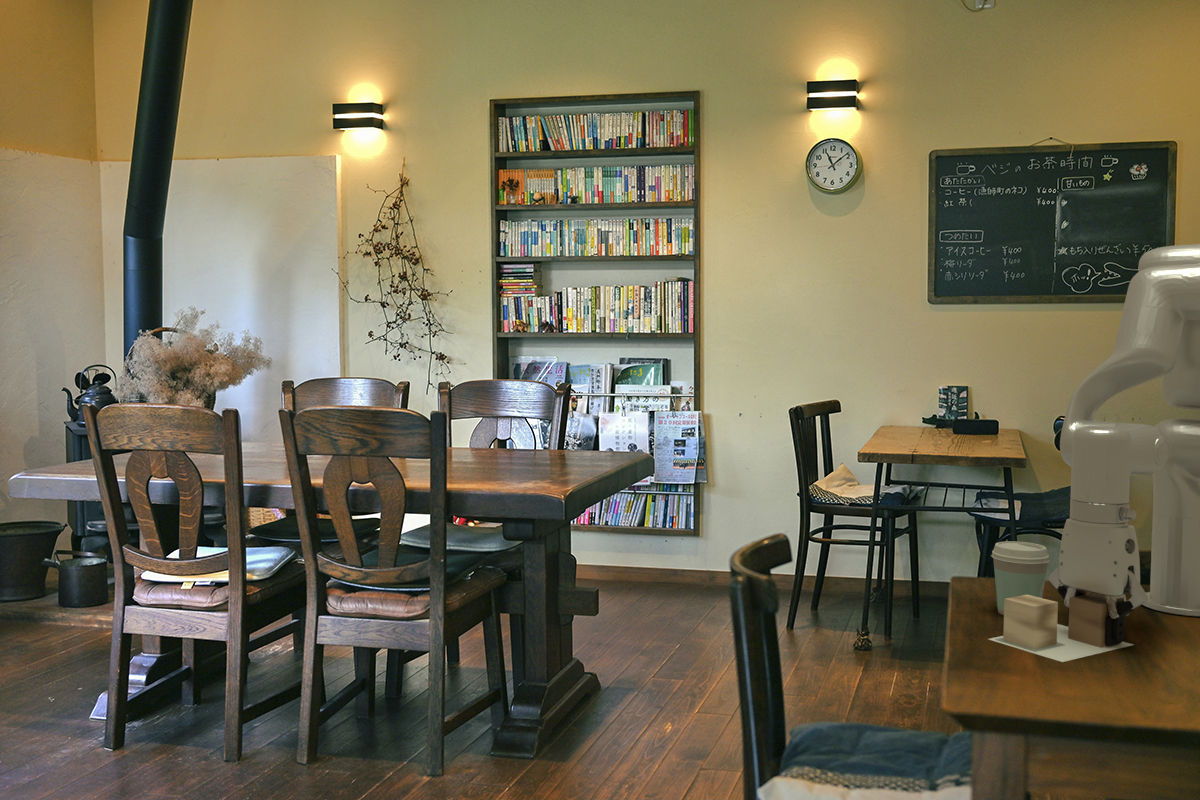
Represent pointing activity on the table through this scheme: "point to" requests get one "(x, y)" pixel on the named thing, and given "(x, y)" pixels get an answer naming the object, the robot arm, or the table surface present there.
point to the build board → (1064, 647)
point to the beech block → (1030, 621)
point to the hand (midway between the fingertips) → (1094, 637)
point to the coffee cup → (1019, 570)
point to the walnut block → (1088, 619)
